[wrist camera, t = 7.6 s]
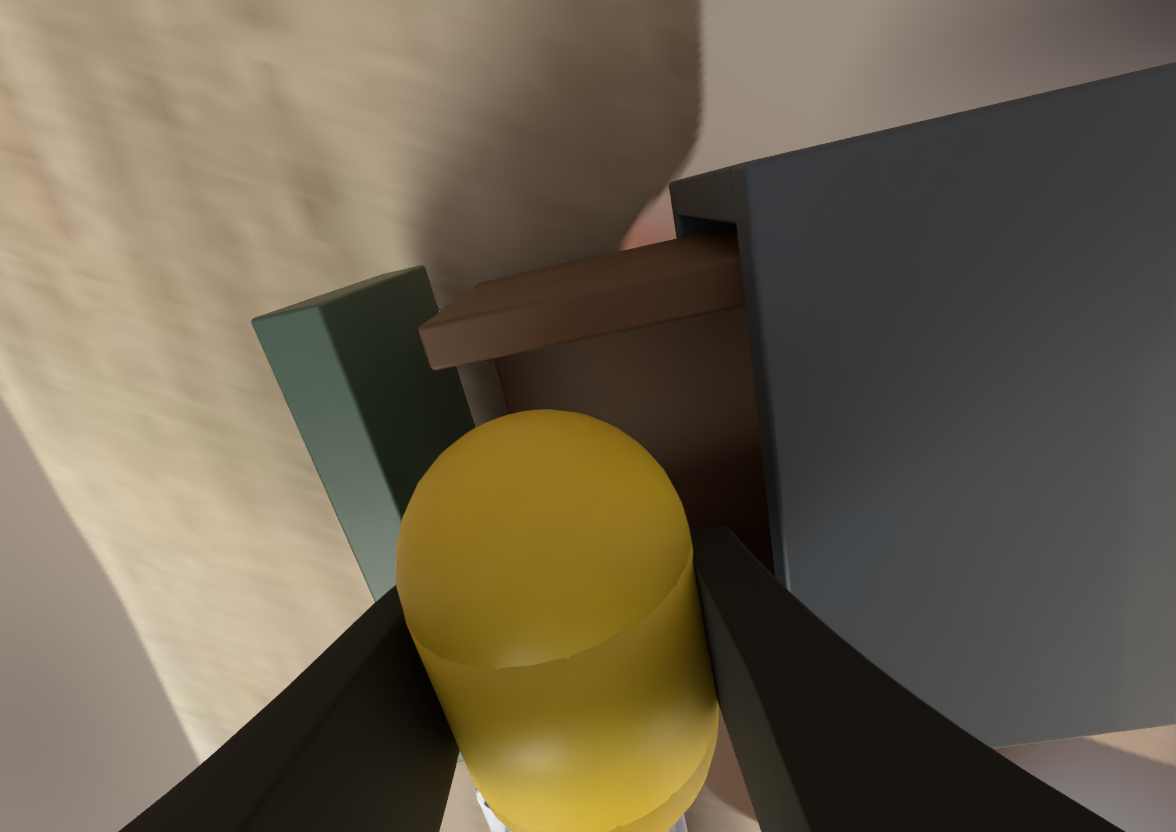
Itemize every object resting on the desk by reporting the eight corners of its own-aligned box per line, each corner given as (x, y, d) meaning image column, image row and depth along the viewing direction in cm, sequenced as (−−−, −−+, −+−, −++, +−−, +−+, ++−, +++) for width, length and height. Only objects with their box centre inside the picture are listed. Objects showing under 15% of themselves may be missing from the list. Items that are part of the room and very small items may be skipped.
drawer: (455, 599, 18) (396, 772, 12) (337, 284, 14) (179, 335, 9) (849, 532, 17) (971, 690, 11) (832, 171, 13) (1001, 149, 8)
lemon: (707, 671, 11) (765, 911, 7) (516, 700, 11) (477, 944, 8) (650, 350, 9) (693, 464, 5) (409, 400, 9) (277, 541, 5)
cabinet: (723, 552, 18) (805, 776, 11) (667, 183, 14) (742, 163, 7) (1125, 483, 17) (1501, 683, 10) (1193, 60, 13) (1917, -111, 6)
